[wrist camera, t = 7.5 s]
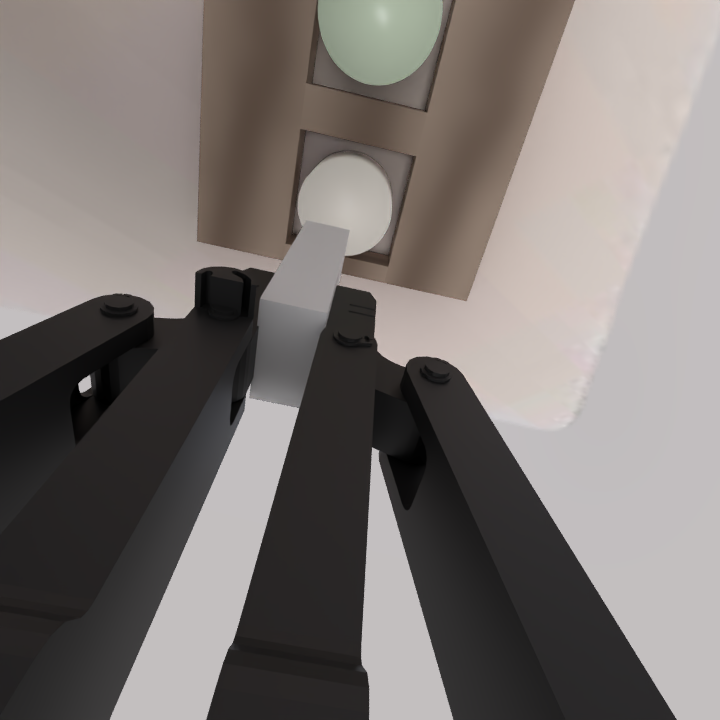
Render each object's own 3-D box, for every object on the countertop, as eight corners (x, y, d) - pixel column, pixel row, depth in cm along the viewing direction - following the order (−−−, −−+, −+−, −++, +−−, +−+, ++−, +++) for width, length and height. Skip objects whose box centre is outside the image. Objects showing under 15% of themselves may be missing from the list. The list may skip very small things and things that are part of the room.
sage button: (319, 71, 22) (309, 70, 19) (337, -63, 19) (329, -86, 17) (419, 96, 22) (422, 98, 19) (450, -34, 19) (459, -52, 17)
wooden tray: (209, 231, 28) (197, 241, 27) (236, -448, 16) (218, -511, 14) (462, 288, 29) (466, 301, 27) (672, -314, 17) (704, -358, 15)
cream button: (301, 229, 27) (291, 244, 25) (313, 141, 25) (304, 148, 22) (380, 247, 27) (379, 264, 25) (401, 162, 25) (402, 171, 22)
